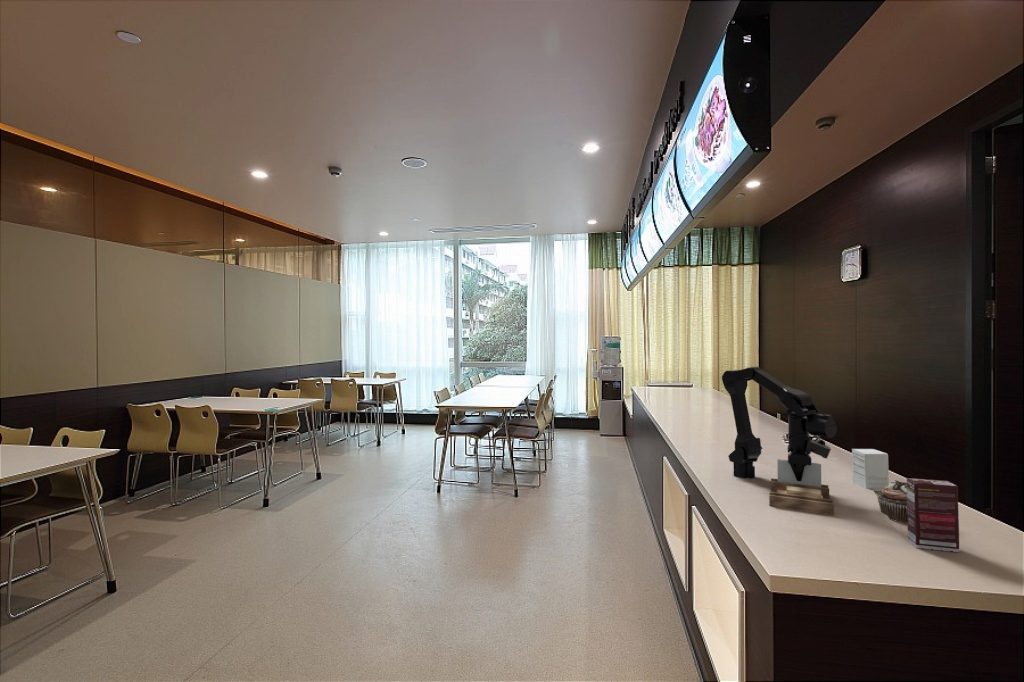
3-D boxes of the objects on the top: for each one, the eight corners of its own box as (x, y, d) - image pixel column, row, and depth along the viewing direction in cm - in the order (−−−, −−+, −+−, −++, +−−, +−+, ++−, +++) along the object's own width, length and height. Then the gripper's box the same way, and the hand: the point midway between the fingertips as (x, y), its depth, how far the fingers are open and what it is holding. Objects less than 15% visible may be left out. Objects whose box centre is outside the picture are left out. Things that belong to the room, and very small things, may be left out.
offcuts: (777, 499, 146) (777, 488, 146) (777, 494, 151) (777, 484, 151) (823, 505, 140) (823, 494, 140) (822, 500, 145) (822, 490, 145)
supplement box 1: (874, 485, 163) (874, 448, 163) (889, 492, 155) (889, 453, 155) (851, 484, 163) (851, 448, 163) (865, 491, 156) (865, 453, 156)
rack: (769, 508, 141) (769, 495, 141) (771, 490, 158) (770, 478, 158) (834, 518, 133) (834, 504, 133) (828, 497, 150) (828, 485, 150)
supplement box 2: (948, 544, 116) (948, 480, 116) (960, 553, 111) (959, 486, 111) (905, 540, 119) (905, 477, 118) (915, 548, 114) (914, 482, 114)
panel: (777, 490, 155) (777, 460, 155) (777, 489, 156) (777, 459, 156) (821, 496, 149) (821, 464, 149) (821, 494, 150) (820, 463, 150)
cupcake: (880, 508, 140) (880, 475, 140) (923, 517, 134) (923, 482, 134) (874, 517, 134) (874, 482, 134) (919, 526, 127) (919, 489, 127)
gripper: (831, 439, 140) (831, 492, 140) (826, 429, 156) (826, 476, 156) (787, 436, 146) (788, 486, 146) (787, 426, 162) (787, 471, 162)
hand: (798, 480), depth 152 cm, fingers closed on panel, 2 cm apart
